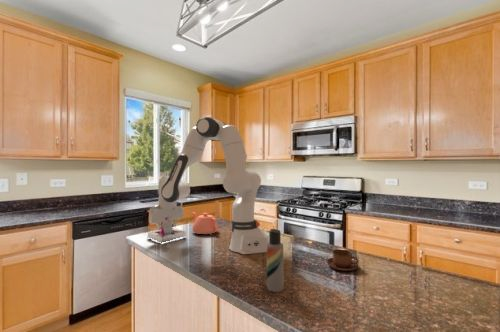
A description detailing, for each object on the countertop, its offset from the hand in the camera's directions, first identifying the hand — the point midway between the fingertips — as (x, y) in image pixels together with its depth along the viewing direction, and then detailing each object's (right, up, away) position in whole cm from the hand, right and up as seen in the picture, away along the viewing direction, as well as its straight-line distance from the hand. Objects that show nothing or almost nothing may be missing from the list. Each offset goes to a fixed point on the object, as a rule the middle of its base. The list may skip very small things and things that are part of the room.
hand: (166, 228), depth 147 cm
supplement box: (0, -5, 0) cm, 5 cm away
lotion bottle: (+56, -6, -59) cm, 82 cm away
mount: (0, -6, 0) cm, 6 cm away
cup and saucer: (+85, -6, -42) cm, 95 cm away
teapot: (+19, -6, +13) cm, 24 cm away
